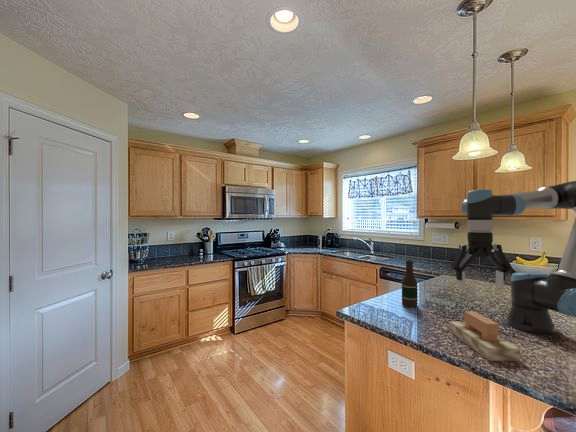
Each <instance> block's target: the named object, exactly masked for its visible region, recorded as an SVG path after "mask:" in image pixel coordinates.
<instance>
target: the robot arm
mask: <svg viewBox="0 0 576 432" xmlns="http://www.w3.org/2000/svg"><path fill="white" fill-rule="evenodd" d="M460 209H461V212H462V213H463V214H464V215H466V217H467V220H466V221H467V225H466V226H467V231H468V232H467V242H468V243H467V245H466V244H459V245H458V251H457V253H456V254H455V257H454V259H453V261H452V263H451V264H450V266H449V267H450V269H451V270H454V271H456V273H455V278H456V280H457V281H458V283H457V284H458V289H460V290H462V291H466V272H465V269H466V268H467V267H468V265H469V264H470V263H471V262H472V261H473V260H474V259H476V258H481V257H483V258H487V259H488V260H489V262H490V263H492V265H493V266H494V267H495V268H496V269H497V270H495V289H497V290H500V291H504V289H505V288H504V287H505V285H504V281H506V273H508V271H511V270H512V266H511V264H510V263H509V262H508V258H507V257H506V256H505V254H504V252H503V248H502V245H501V244H497V243H495V244H493V241H494V234H493V231H494V230H493V229H494V227H493V226H494V225H493V223H494V222H493V216H510V217H511V216H519V215H521V214H522V213H524V211H525V210H526V211H527V210H533V209H543V210H551V209H555V210H556V209H558V210H559V209H563V210H564V209H565V210H572V211H574V213H576V180H573V181H568V182H563V183H558V184H555V185H550V186H543V187H540V188H538V189H537V190H529V191H528V190H527V191H521V192H516V193H515V192H513V193H506V194H498V195H494V194H493V191H492V190H491V189H488V188H487V189H471V190H469V191H467V195H466V199H464V201H462V203H461V206H460ZM467 251H468V252H467ZM492 251H494V253H493V252H492ZM466 252H467V253H466ZM510 292H511V293H510V295H511V296H510V297H511V298H510V299H511V300H510V301H511V304H510V305H511V306H510V308H509V311H508V314H507V315H506V324H507V325H509V326H510V327H512V328H515V329H518V330H520V331H524V332H529V333H533V334H537V335H538V334H540V335H552V334H555V332H556V331H555V330H556V329H555V328H556V327H555V324H554V322H553V320H552V317H551V315H550V311H549V310H551V311H554V312H557V313H559V314H561V315H565V316H569V317H573V318H576V217H575V218H574V222H573V224H572V227H571V230H570V232H569V236H568V239H567V242H566V244H565V248H564V251H563V254H562V257H561V260H560V263H559V265H558V268H557V271H553V272H550V275H548V274H546V273H542V272H540V273H539V272H514V273H512V274H511V279H510Z"/></svg>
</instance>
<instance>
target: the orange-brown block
mask: <svg viewBox="0 0 576 432" xmlns="http://www.w3.org/2000/svg"><path fill="white" fill-rule="evenodd" d="M463 314H464V318H463V319H464V322H465V329H467V330H479V331H480V332H482V340H483V341H488V342H498V336H499V337H500V334H499V329H500V327H499V323H497V322H496V321H493V320H492V319H490V318H487V317H486V316H484V315H482V314H480V313H479V312H477V311H473V310H472V311H470V310H469V311H466V310H465V311H464V313H463Z"/></svg>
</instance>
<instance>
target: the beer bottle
mask: <svg viewBox="0 0 576 432" xmlns="http://www.w3.org/2000/svg"><path fill="white" fill-rule="evenodd" d="M413 264H414V261H413V260H410V259H409V260H407V259H406V260H405V275H404V276H403V278H402V280H401V304H402V307H405V308H408V309H415V308H418V303H419V302H418V282H417V279H416V277H415V275H414V266H413Z"/></svg>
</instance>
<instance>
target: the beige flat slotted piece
mask: <svg viewBox="0 0 576 432" xmlns="http://www.w3.org/2000/svg"><path fill="white" fill-rule="evenodd" d="M448 329H449V331H448V332H449V333H451V334H452V335H453V336H454V337H457V338H458V339H459V340H460V341H461V342H463V343H464V344H466V345H467V346H468V347H469V348H471V349H472V350H473V351H475V352H476V353H478V354H479V355H480V356H482V357H484V358H485V359H486V360H487V361H491V362H493V361H494V362H495V361H498V362H499V361H500V362H501V361H503V362H521V348H519V347H517V345H514V344H512V343H511V342H510V341H507V340H506V339H504V338H502V337H501V336H500V335H499V336H498V342H488V341H483V340H482V332H480V331H479V330H467V329H465V321H448Z"/></svg>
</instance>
